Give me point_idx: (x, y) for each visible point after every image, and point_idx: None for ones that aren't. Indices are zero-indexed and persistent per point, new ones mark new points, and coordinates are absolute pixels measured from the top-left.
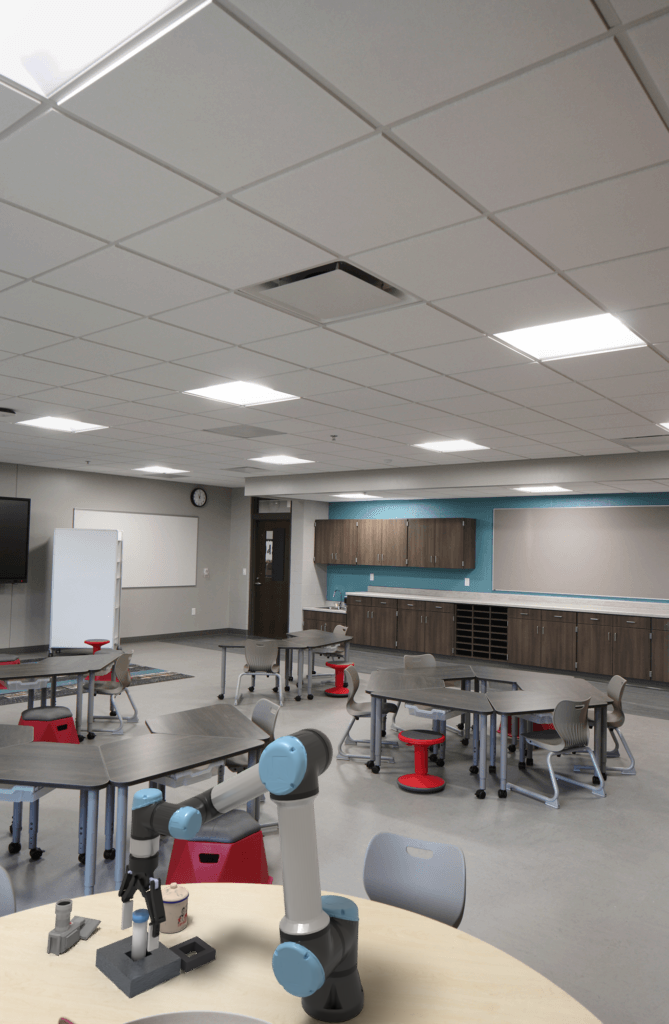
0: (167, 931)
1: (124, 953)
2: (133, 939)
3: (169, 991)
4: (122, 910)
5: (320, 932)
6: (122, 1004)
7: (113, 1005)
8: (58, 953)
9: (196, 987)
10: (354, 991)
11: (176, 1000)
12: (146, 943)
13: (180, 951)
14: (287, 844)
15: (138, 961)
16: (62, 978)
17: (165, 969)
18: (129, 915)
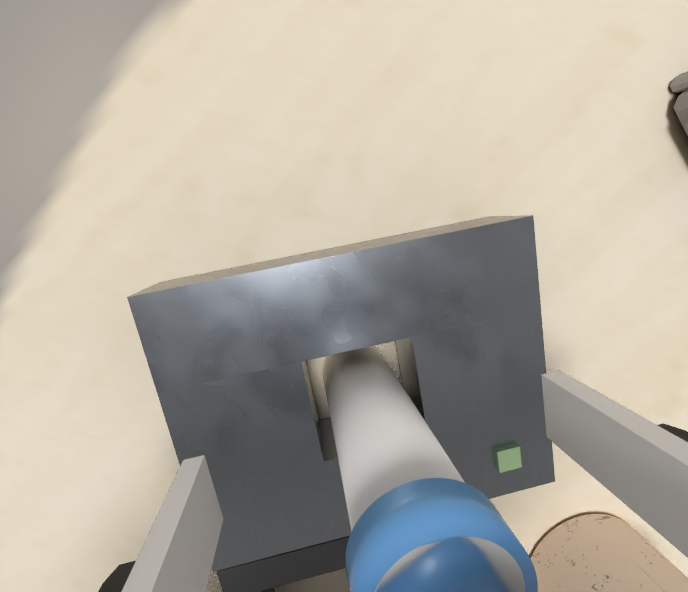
0: (544, 545)
1: (412, 338)
2: (374, 408)
3: (129, 444)
4: (672, 437)
5: None
6: (130, 241)
7: (142, 203)
8: (677, 83)
9: (104, 544)
10: None
11: (48, 453)
12: None
13: (323, 568)
14: None
15: (293, 382)
16: (481, 50)
17: None
18: (607, 464)
